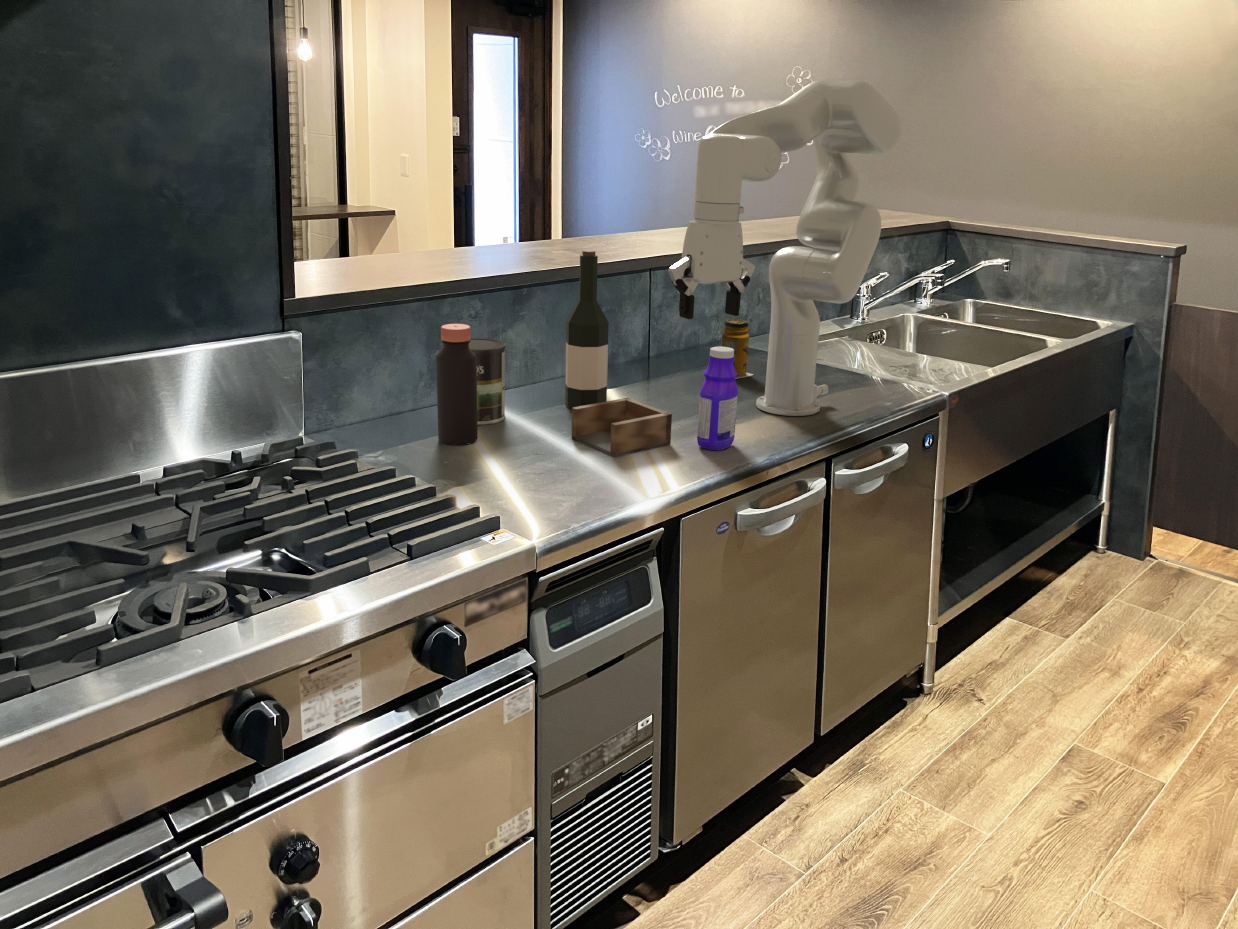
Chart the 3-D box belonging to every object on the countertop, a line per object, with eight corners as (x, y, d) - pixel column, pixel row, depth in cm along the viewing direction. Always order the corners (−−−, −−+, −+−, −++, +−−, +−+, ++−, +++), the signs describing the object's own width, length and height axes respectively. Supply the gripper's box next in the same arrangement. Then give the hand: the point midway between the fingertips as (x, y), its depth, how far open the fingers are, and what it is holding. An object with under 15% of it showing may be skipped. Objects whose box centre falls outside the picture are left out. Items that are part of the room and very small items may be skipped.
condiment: (754, 375, 232) (758, 322, 228) (729, 381, 226) (733, 326, 222) (729, 368, 237) (732, 316, 233) (704, 374, 231) (707, 321, 227)
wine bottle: (601, 412, 200) (605, 254, 190) (559, 409, 201) (561, 252, 191) (610, 401, 207) (615, 249, 198) (570, 398, 209) (572, 246, 199)
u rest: (626, 427, 191) (627, 397, 189) (670, 444, 182) (671, 414, 180) (571, 438, 184) (572, 407, 182) (614, 457, 175) (615, 425, 173)
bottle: (711, 437, 187) (717, 342, 181) (739, 444, 184) (746, 347, 178) (690, 447, 181) (696, 349, 175) (719, 454, 178) (725, 354, 172)
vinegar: (443, 447, 177) (440, 331, 170) (434, 436, 183) (430, 323, 176) (482, 443, 179) (480, 329, 173) (471, 432, 185) (469, 321, 179)
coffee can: (489, 428, 188) (489, 352, 183) (439, 420, 191) (437, 345, 187) (515, 414, 197) (515, 340, 192) (467, 407, 200) (466, 335, 196)
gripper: (743, 211, 179) (735, 309, 185) (660, 211, 170) (654, 315, 176) (771, 215, 173) (762, 317, 179) (687, 215, 164) (680, 323, 170)
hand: (709, 316), depth 177 cm, fingers open, 9 cm apart
